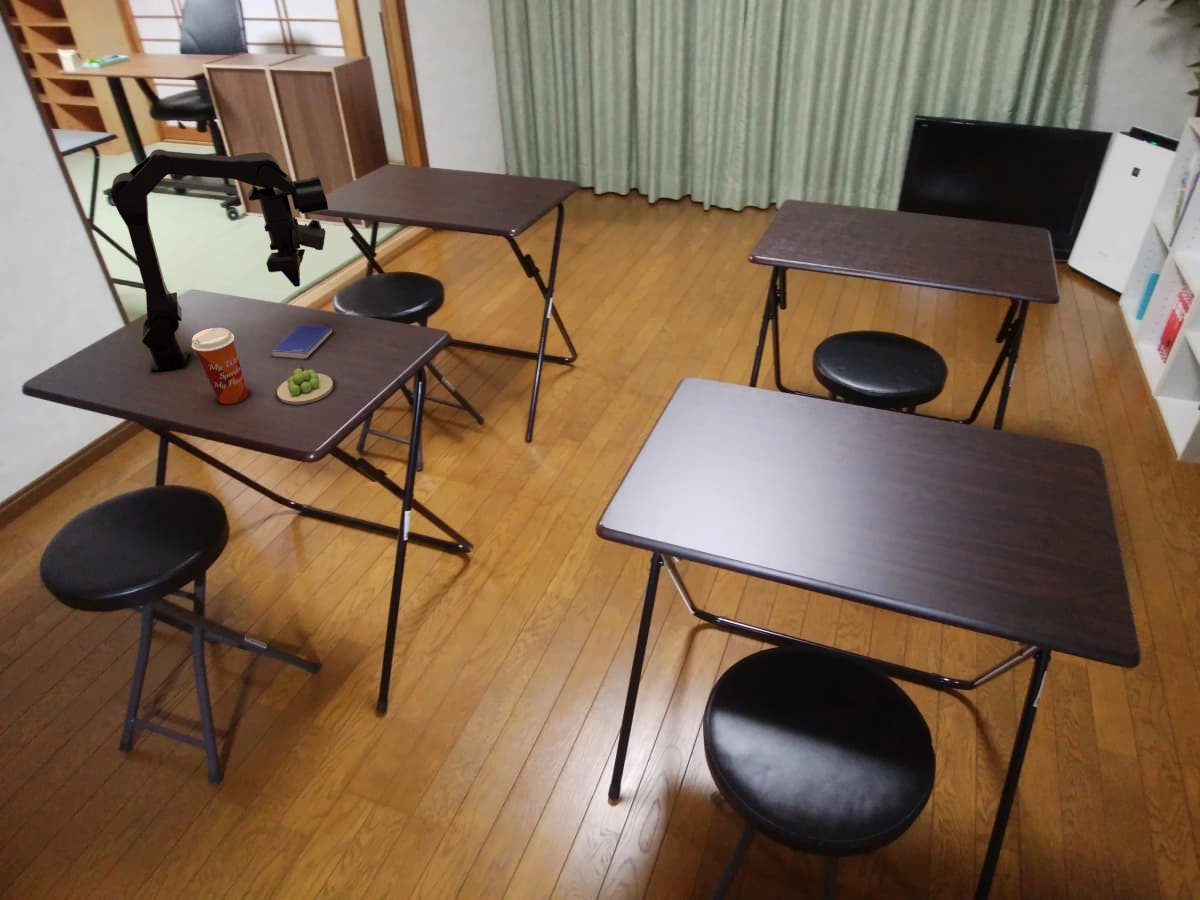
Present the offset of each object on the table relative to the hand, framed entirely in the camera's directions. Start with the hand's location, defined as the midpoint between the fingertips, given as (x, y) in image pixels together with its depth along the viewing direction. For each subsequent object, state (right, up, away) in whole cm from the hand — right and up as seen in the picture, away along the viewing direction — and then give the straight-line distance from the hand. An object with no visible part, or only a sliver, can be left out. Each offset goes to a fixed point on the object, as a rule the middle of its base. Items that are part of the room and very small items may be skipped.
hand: (297, 286), depth 170 cm
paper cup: (-7, -26, -14) cm, 31 cm away
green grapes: (+7, -24, -13) cm, 29 cm away
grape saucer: (+7, -24, -13) cm, 29 cm away
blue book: (0, -13, +3) cm, 13 cm away
